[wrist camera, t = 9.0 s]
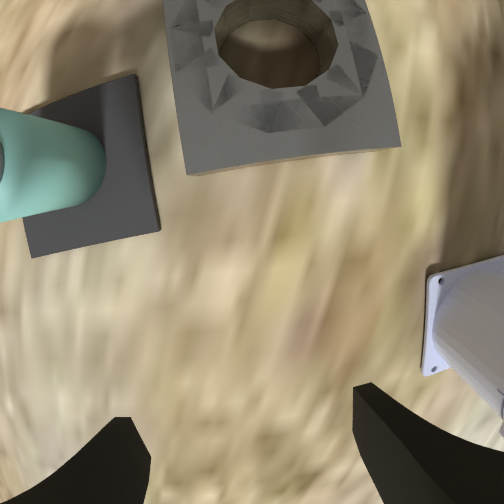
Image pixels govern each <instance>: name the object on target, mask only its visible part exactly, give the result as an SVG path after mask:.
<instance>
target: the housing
mask: <svg viewBox="0 0 504 504" xmlns="http://www.w3.org/2000/svg"><path fill="white" fill-rule="evenodd" d="M163 7H164V17H165V26H166V35H167V44H168V52H169V61H170V68H171V76H172V83H173V91H174V98H175V105H176V112H177V118H178V125H179V131H180V138H181V144H182V150H183V156H184V162H185V168H186V174H187V175H190V176H200V175H205V174H211V173H216V172H222V171H227V170H233V169H239V168H245V167H251V166H257V165H264V164H271V163H277V162H284V161H292V160H299V159H307V158H315V157H323V156H332V155H341V154H351V153H361V152H373V151H379V150H384V149H390V148H396V147H401V142H400V136H399V130H398V124H397V119H396V114H395V108H394V104H393V99H392V94H391V90H390V85H389V81H388V77H387V73H386V69H385V65H384V61H383V57H382V53H381V50H380V46H379V43H378V39H377V36H376V33H375V29H374V26H373V23H372V20H371V17H370V14H369V11H368V8H367V5H366V2H365V0H163ZM264 19H277V20H280V21H283V22H285V23H288V24H291V25H294V26H296V27H299V28H300V29H301V30H302V31H303V32H304V33H305V34H306V35H307V37H308V38H309V39H310V40H311V41H312V42H313V43H314V44H315V45H316V49H317V53H318V57H319V61H320V66H321V68H320V71H319V73H318V76H317V78H316V79H314V80H313V81H311V82H310V83H308V84H307V85H306V86H297V87H286V88H277V89H270V88H268V87H265V86H262V85H259V84H257V83H254V82H251V81H248V80H245V79H242V78H239V76H238V75H237V74H236V73H235V72H234V71H233V70H232V69H231V68H230V67H229V66H228V65H227V64H226V63H225V62H224V61H223V60H222V59H221V57H220V56H219V55H218V54H219V52H220V50H221V48H222V46H223V44H224V41H225V39H226V37H227V35H228V34H229V33H231V32H232V31H234V30H235V29H237V28H238V27H240V26H242V25H243V24H245V23H246V22H248V21H254V20H264Z"/></svg>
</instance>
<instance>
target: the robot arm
mask: <svg viewBox="0 0 504 504" xmlns="http://www.w3.org/2000/svg"><path fill="white" fill-rule="evenodd" d="M440 278H441V281H440V282H439V283H438V281H439V279H440ZM433 367H434V368H433ZM450 367H451V368H452V369H453V370H454V371H455V372H456V373H457V374H458V375H459V376H460V377H461V378H462V379H463V380H464V381H465V382H466V383H467V384H468V385H469V386H470V387H471V388H472V389H473V390H474V391H475V392H476V393H477V394H478V395H479V396H480V397H481V398H482V399H483V400H484V401H485V402H486V403H487V404H488V405H489V406H490V407H491V408H492V409H493V410H494V411H495V412H496V413H497V414H498V415H499V416H500V417H501V418H502V419H503V423H502V426H501V428H500V430H499V433H500V434H501V435H502V436H503V437H504V255H501V256H498V257H494V258H491V259H487V260H484V261H480V262H476V263H473V264H469V265H465V266H462V267H458V268H454V269H450V270H447V271H443V272H439V273H435V274H432V275H430V276H429V277H428V279H427V295H426V320H425V335H424V347H423V358H422V367H421V373H422V374H423V375H424V376H429V375H432V374H435V373H438V372H440V371H443V370H445V369H448V368H450ZM432 368H433V369H432ZM352 431H353V434H354V437H355V440H356V443H357V446H358V449H359V452H360V455H361V457H362V460H363V462H364V464H365V466H366V468H367V470H368V472H369V474H370V476H371V478H372V480H373V482H374V484H375V486H376V488H377V490H378V492H379V494H380V496H381V498H382V501H383V503H384V504H504V452H502V451H498V450H494V449H491V448H487V447H484V446H480V445H477V444H474V443H472V442H469V441H467V440H464V439H462V438H459V437H457V436H455V435H452V434H450V433H448V432H446V431H444V430H442V429H440V428H438V427H436V426H435V425H433V424H431V423H429V422H428V421H426V420H424V419H423V418H421V417H419V416H418V415H416V414H415V413H413V412H412V411H410V410H409V409H407V408H406V407H404V406H403V405H401V404H400V403H399V402H397V401H396V400H394V399H393V398H392V397H390V396H389V395H388V394H386V393H385V392H384V391H382V390H381V389H380V388H378V387H377V386H376V385H374V384H373V383H367V384H363V385H360V386H356V387H353V428H352ZM150 464H151V456H150V454H149V452H148V450H147V448H146V446H145V444H144V443H143V441H142V439H141V437H140V435H139V433H138V431H137V429H136V427H135V425H134V423H133V421H132V419H131V417H115V418H113V419H112V420H111V421H110V422H109V423H108V424H107V425H106V426H105V427H104V428H102V429H101V430H100V431H99V432H98V433H97V434H96V435H95V436H94V437H93V438H92V439H91V440H90V441H89V442H88V443H87V444H86V445H85V446H84V447H83V448H82V449H81V450H80V451H79V452H78V453H76V454H75V455H74V456H73V457H72V458H71V459H70V460H68V461H67V462H66V463H65V464H64V465H63V466H61V467H60V468H59V469H58V470H57V471H55V472H54V473H53V474H52V475H50V476H49V477H47V478H46V479H45V480H43V481H42V482H40V483H39V484H37V485H36V486H34V487H32V488H31V489H29V490H27V491H25V492H23V493H21V494H20V495H18V496H16V497H14V498H12V499H10V500H8V501H5V502H3V503H0V504H143V503H144V499H145V495H146V491H147V487H148V482H149V475H150Z"/></svg>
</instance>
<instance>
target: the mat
mask: <svg viewBox="0 0 504 504" xmlns="http://www.w3.org/2000/svg"><path fill="white" fill-rule="evenodd" d="M28 115H32V116H36V117H40V118H44V119H48V120H52V121H56V122H59V123H63V124H67V125H70V126H74V127H77V128H81V129H85V130H87V131H89V132H91V133H93V134H94V135H95V136H96V137H97V138H98V139H99V141H100V142H101V144H102V146H103V149H104V152H105V157H106V171H105V176H104V179H103V182H102V184H101V186H100V188H99V190H98V191H97V192H96V194H95V195H94V196H93V197H92V198H91V199H90V200H88V201H87V202H85V203H83V204H81V205H78V206H73V207H68V208H63V209H58V210H53V211H49V212H44V213H39V214H35V215H30V216H26V217H22V218H23V223H24V228H25V232H26V237H27V241H28V246H29V250H30V254H31V258H36V257H40V256H45V255H49V254H53V253H58V252H62V251H67V250H71V249H76V248H80V247H85V246H90V245H94V244H99V243H104V242H108V241H113V240H118V239H123V238H128V237H133V236H138V235H143V234H148V233H153V232H158V231H160V230H161V226H160V221H159V216H158V211H157V206H156V200H155V195H154V189H153V184H152V178H151V172H150V166H149V160H148V154H147V147H146V141H145V134H144V127H143V120H142V112H141V104H140V96H139V87H138V78H137V76H136V75H135V74H132V75H129V76H126V77H122V78H119V79H116V80H113V81H110V82H107V83H104V84H101V85H98V86H95V87H92V88H89V89H87V90H84V91H81V92H79V93H76V94H73V95H71V96H68V97H66V98H63V99H61V100H59V101H56V102H54V103H51V104H49V105H47V106H45V107H42V108H40V109H38V110H36V111H34V112H31V113H29V114H28Z"/></svg>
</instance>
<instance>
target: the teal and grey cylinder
mask: <svg viewBox="0 0 504 504" xmlns="http://www.w3.org/2000/svg"><path fill="white" fill-rule="evenodd" d="M105 171H106V157H105V152H104V149H103V146H102V144H101V142H100V141H99V139H98V138H97V137H96V136H95V135H94V134H93V133H91V132H89V131H87V130H85V129H81V128H77V127H74V126H70V125H67V124H63V123H59V122H56V121H52V120H48V119H44V118H40V117H36V116H32V115H28V114H24V113H20V112H16V111H12V110H7V109H3V108H0V223H1V222H5V221H9V220H13V219H17V218H22V217H26V216H30V215H35V214H39V213H44V212H49V211H53V210H58V209H63V208H68V207H73V206H78V205H81V204H83V203H85V202H87V201H88V200H90V199H91V198H92V197H93V196H94V195H95V194H96V192H97V191H98V190H99V188H100V186H101V184H102V182H103V179H104V176H105Z"/></svg>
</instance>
